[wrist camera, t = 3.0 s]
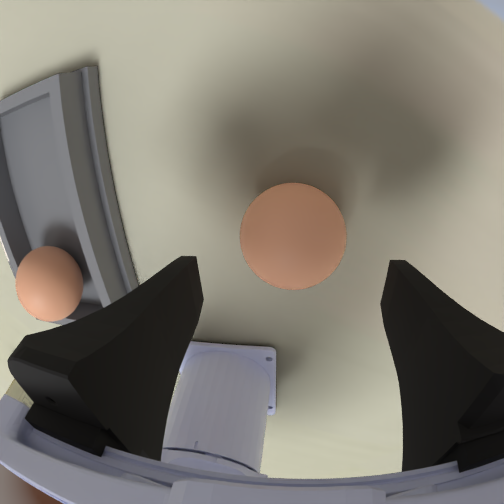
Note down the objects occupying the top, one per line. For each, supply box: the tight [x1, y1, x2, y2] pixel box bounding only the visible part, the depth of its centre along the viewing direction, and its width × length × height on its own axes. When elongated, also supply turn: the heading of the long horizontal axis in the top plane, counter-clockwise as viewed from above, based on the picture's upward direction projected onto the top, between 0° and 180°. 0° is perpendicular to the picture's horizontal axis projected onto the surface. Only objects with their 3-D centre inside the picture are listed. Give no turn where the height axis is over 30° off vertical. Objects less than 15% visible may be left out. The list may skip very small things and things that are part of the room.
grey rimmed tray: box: [0, 66, 138, 325], centre depth 17 cm, size 17×13×3 cm
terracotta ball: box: [240, 183, 347, 290], centre depth 15 cm, size 5×5×5 cm
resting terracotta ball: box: [16, 246, 83, 322], centre depth 17 cm, size 5×5×5 cm
